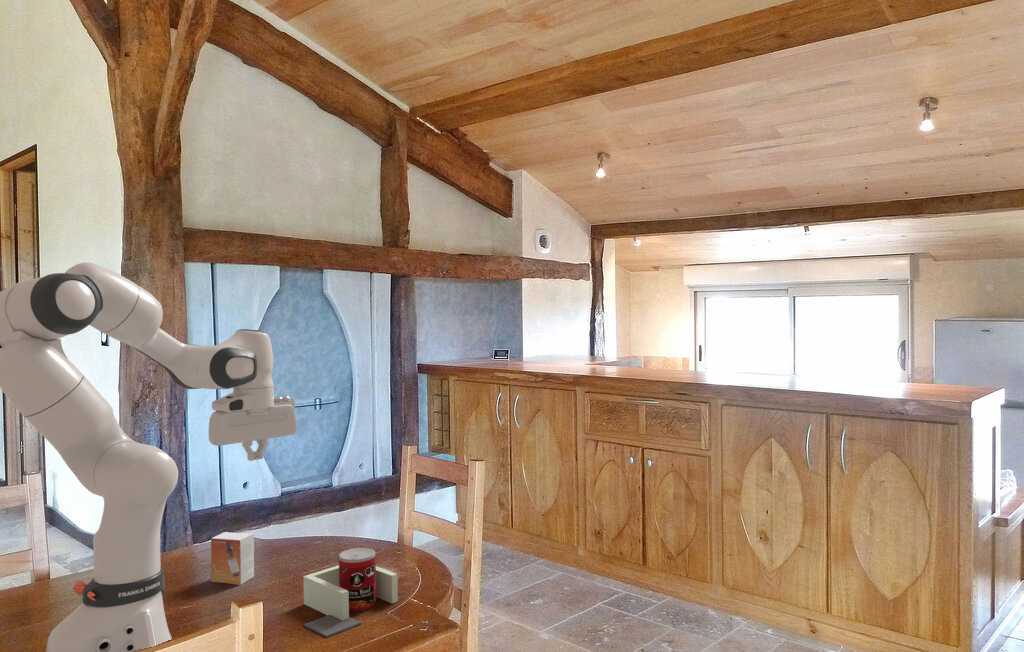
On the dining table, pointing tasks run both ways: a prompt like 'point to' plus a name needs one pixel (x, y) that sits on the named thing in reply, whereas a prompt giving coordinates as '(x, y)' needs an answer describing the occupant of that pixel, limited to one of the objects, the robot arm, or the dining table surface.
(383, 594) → the dock
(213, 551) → the small box
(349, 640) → the dining table surface
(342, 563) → the canned food
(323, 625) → the mat
